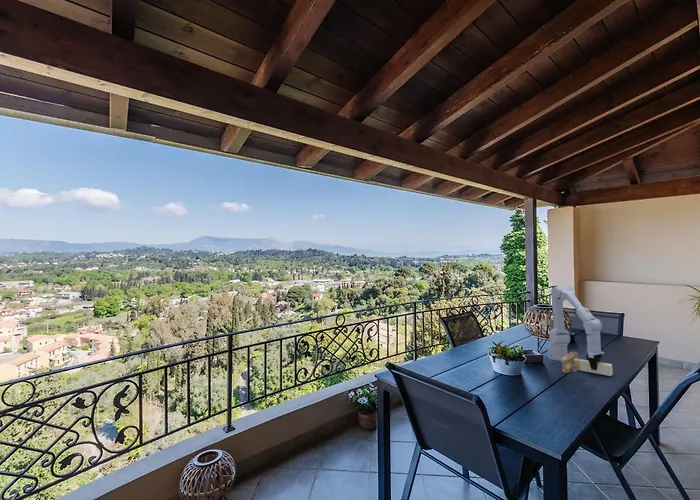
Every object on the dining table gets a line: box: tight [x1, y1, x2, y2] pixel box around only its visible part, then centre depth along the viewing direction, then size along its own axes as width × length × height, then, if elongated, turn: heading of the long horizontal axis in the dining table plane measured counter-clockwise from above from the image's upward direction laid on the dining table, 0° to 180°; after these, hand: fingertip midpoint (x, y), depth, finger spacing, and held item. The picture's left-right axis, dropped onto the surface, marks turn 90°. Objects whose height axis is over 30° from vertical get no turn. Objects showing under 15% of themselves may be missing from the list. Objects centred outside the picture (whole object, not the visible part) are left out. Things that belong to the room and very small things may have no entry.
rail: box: [573, 358, 614, 377], centre depth 170 cm, size 16×4×5 cm, turn 42°
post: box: [561, 351, 579, 374], centre depth 177 cm, size 5×18×7 cm, turn 132°
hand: (594, 368), depth 170 cm, fingers closed on rail, 4 cm apart
